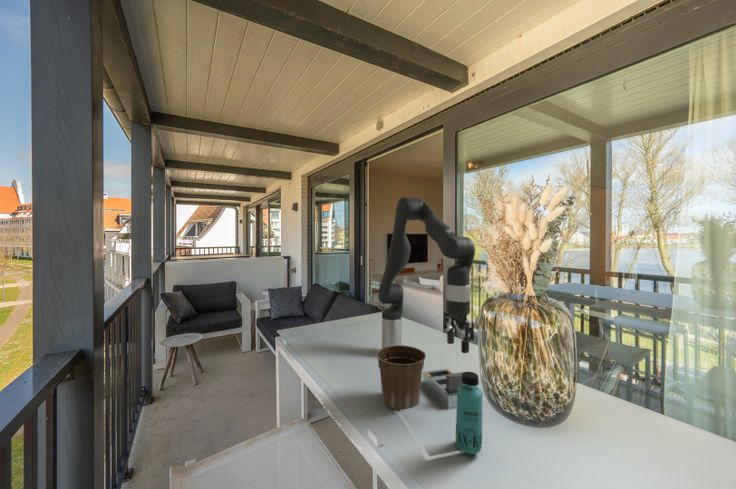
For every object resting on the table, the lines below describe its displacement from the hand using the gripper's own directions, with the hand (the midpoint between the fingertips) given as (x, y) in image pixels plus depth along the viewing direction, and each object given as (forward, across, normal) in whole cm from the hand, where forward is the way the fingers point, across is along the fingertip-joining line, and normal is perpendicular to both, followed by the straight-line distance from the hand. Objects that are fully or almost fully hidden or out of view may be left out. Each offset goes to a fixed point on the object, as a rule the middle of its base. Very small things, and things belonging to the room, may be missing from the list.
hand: (457, 347), depth 99 cm
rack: (+19, -6, 0) cm, 20 cm away
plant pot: (+19, -6, -17) cm, 26 cm away
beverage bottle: (+19, +20, -9) cm, 29 cm away
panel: (+18, 0, 0) cm, 18 cm away
